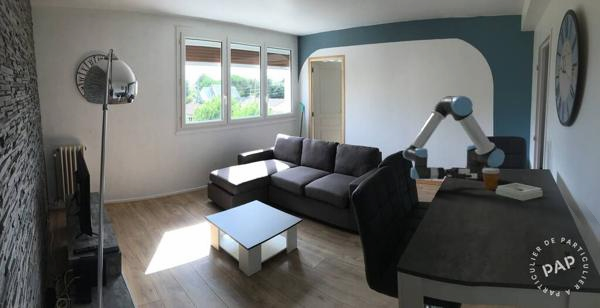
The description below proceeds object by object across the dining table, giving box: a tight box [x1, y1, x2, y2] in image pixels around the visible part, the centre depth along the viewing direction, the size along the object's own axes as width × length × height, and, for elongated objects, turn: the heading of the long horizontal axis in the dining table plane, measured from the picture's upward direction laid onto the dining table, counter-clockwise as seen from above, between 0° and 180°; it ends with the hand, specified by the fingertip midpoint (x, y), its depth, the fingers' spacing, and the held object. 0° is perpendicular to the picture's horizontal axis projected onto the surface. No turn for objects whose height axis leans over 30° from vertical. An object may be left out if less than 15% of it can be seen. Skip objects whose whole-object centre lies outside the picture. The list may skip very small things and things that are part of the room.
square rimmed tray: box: [495, 182, 544, 202], centre depth 196 cm, size 16×16×4 cm
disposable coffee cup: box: [482, 167, 501, 190], centre depth 212 cm, size 10×10×12 cm
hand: (473, 173), depth 213 cm, fingers open, 13 cm apart
